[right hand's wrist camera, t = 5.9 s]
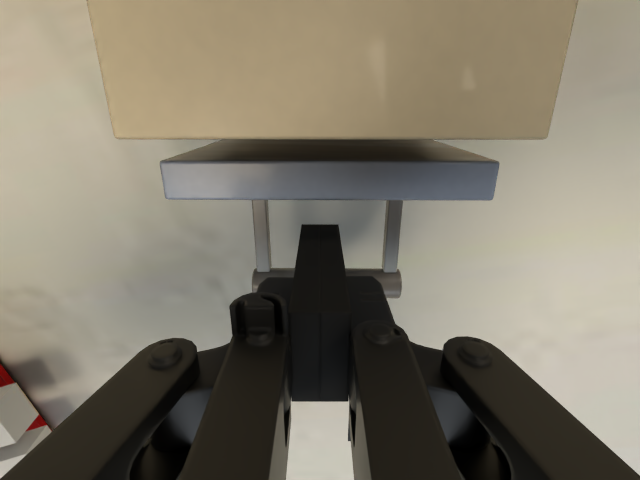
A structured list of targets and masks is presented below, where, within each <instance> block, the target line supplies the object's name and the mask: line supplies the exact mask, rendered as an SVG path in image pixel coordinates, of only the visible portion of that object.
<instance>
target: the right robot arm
mask: <svg viewBox="0 0 640 480" xmlns="http://www.w3.org/2000/svg"><path fill="white" fill-rule="evenodd" d="M229 307H230V316H231V325H232V335H233V336H232V339H231V342H230V343H228V344H226V345H224V346H221V347H218V348H214V349H209V350H205V351H200V352H197V347H196V345H195V344H194V343H193V342H192V341H189V340H187V339H184V338H171V339H165V340H161V341H158V342H156V343H153V344H151V345H149V346H148V347H146V348H145V349H143V350H142V351H140V352H139V353H138V354H137V355H136V356H135V357H134V358H133V359H131V360H130V361H129V362H128V363H127V364H126V365H125V366H124V367H123V368H122V369H120V370H119V371H118V372H117V373H116V374H115V375H114V376H113V377H112V378H111V379H109V380H108V381H107V382H106V383H105V384H104V385H103V386H102V387H101V388H100V389H98V390H97V391H96V392H95V393H94V394H93V395H92V396H91V397H90V398H89V399H87V400H86V401H85V402H84V403H83V404H82V405H81V406H80V407H79V408H78V409H76V410H75V411H74V412H73V413H72V414H71V415H70V416H69V417H68V418H66V419H65V420H64V421H63V422H62V423H61V424H60V425H59V426H58V427H57V428H55V429H54V430H53V431H52V432H51V433H50V434H49V435H48V436H47V437H46V438H44V439H43V440H42V441H41V442H40V443H39V444H38V445H37V446H36V447H35V448H33V449H32V450H31V451H30V452H29V453H28V454H27V455H26V456H25V457H24V458H22V459H21V460H20V461H19V462H18V463H17V464H16V465H15V466H14V467H13V468H11V469H10V470H9V471H8V472H7V473H6V474H5V475H4V476H3V477H2V478H0V480H286V471H287V460H288V448H289V437H290V426H291V398H292V401H348V398H349V428H348V441H351V448H352V459H353V470H354V480H640V476H639V475H638V474H637V473H636V472H635V471H634V470H633V469H632V468H631V467H629V466H628V465H627V464H626V463H625V462H624V461H623V460H622V459H621V458H620V457H618V456H617V455H616V454H615V453H614V452H613V451H612V450H611V449H610V448H608V447H607V446H606V445H605V444H604V443H603V442H602V441H601V440H600V439H598V438H597V437H596V436H595V435H594V434H593V433H592V432H591V431H590V430H588V429H587V428H586V427H585V426H584V425H583V424H582V423H581V422H580V421H578V420H577V419H576V418H575V417H574V416H573V415H572V414H571V413H570V412H568V411H567V410H566V409H565V408H564V407H563V406H562V405H561V404H560V403H558V402H557V401H556V400H555V399H554V398H553V397H552V396H551V395H550V394H548V393H547V392H546V391H545V390H544V389H543V388H542V387H541V386H540V385H539V384H537V383H536V382H535V381H534V380H533V379H532V378H531V377H530V376H529V375H527V374H526V373H525V372H524V371H523V370H522V369H521V368H520V367H519V366H517V365H516V364H515V363H514V362H513V361H512V360H511V359H510V358H509V357H507V356H506V355H505V354H504V353H503V352H502V351H501V350H499V349H498V348H497V347H495V346H494V345H492V344H491V343H488V342H486V341H483V340H481V339H478V338H473V337H455V338H452V339H449V340H448V341H447V342H446V343H445V344H444V347H443V351H442V350H438V349H433V348H428V347H424V346H421V345H417V344H415V343H413V342H411V341H409V338H408V336H407V334H406V333H405V331H404V330H403V329H402V328H400V327H399V326H397V325H396V324H395V322H394V319H393V316H392V313H391V310H390V308H389V305H388V302H387V299H386V296H385V294H384V290H383V287H382V284H381V283H380V282H379V281H378V280H377V279H375V278H374V277H373V276H346V272H345V266H344V259H343V253H342V246H341V240H340V233H339V227H338V225H302V226H301V233H300V240H299V246H298V253H297V259H296V266H295V272H294V277H267V278H266V279H265V280H264V281H262V282H261V283H260V284H259V286H258V289H257V292H255V293H249V294H246V295H243V296H241V297H239V298H237V299H235V300H234V301H233V302H232V303H231V305H230V306H229Z"/></svg>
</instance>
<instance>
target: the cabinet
mask: <svg viewBox="0 0 640 480" xmlns="http://www.w3.org/2000/svg"><path fill="white" fill-rule="evenodd" d="M577 3H578V0H87V5H88V10H89V15H90V19H91V24H92V29H93V34H94V39H95V44H96V49H97V54H98V59H99V64H100V69H101V73H102V78H103V83H104V88H105V93H106V98H107V103H108V108H109V113H110V118H111V123H112V127H113V132H114V136H115V138H117V139H499V140H543V139H545V138H547V136H548V132H549V128H550V123H551V119H552V115H553V110H554V106H555V101H556V97H557V92H558V88H559V83H560V79H561V75H562V70H563V66H564V61H565V57H566V52H567V48H568V43H569V39H570V35H571V30H572V26H573V21H574V17H575V12H576V8H577Z"/></svg>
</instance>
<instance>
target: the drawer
mask: <svg viewBox="0 0 640 480" xmlns="http://www.w3.org/2000/svg"><path fill="white" fill-rule="evenodd" d="M160 168H161V174H162V180H163V186H164V192H165V198H166V199H169V200H252V208H253V222H254V235H255V249H256V263H257V268H255V269H254V271H253V276H252V292H253V293H255V292H257V289H258V286H259V284H260V283H261V282H262V281H264V280H265V279H266V278H267V277H294V272H295V268H271V248H270V230H269V212H268V200H387V201H386V215H385V230H384V244H383V258H382V268H383V269H356V268H345V272H346V276H373V277H374V278H375V279H377V280H378V281H379V282H380V283H381V284H382V287H383V290H384V294H385V296H386V298H399V297H400V295H401V289H402V281H401V274H400V271H399V269H397V261H398V250H399V238H400V227H401V215H402V204H403V200H492V199H493V197H494V191H495V186H496V180H497V175H498V169H499V162H498V161H495V160H492V159H489V158H486V157H483V156H480V155H477V154H474V153H471V152H468V151H464V150H461V149H458V148H455V147H452V146H449V145H446V144H443V143H440V142H437V141H434V140H431V139H224V140H221V141H218V142H215V143H212V144H209V145H206V146H203V147H200V148H197V149H194V150H192V151H189V152H186V153H183V154H180V155H177V156H174V157H171V158H168V159H165V160H162V161H160Z"/></svg>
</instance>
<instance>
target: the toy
mask: <svg viewBox="0 0 640 480" xmlns="http://www.w3.org/2000/svg"><path fill="white" fill-rule="evenodd" d="M51 432H52V430H51V429H50V427H49V426H48V425H47V423H46V422H45V421H44V420H43V418H42V417H41V416H40V414H39V413H38V412H37V410H36V409H35V408H34V406H33V405H32V404H31V402H30V401H29V400H28V398H27V397H26V395H25V394H24V393H23V391H22V390H21V389H20V387H19V386H18V384H17V383H15V382H14V381H13V379H12V378H11V377H10V375H9V374H8V373H7V372H6V370H5V369H4V368H3V366H2V365H1V364H0V478H2V477H3V476H4V475H5V474H6V473H7V472H8V471H9V470H10V469H11V468H13V467H14V466H15V465H16V464H17V463H18V462H19V461H20V460H21V459H22V458H24V457H25V456H26V455H27V454H28V453H29V452H30V451H31V450H32V449H33V448H35V447H36V446H37V445H38V444H39V443H40V442H41V441H42V440H43V439H44V438H46V437H47V436H48V435H49V434H50V433H51Z"/></svg>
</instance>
